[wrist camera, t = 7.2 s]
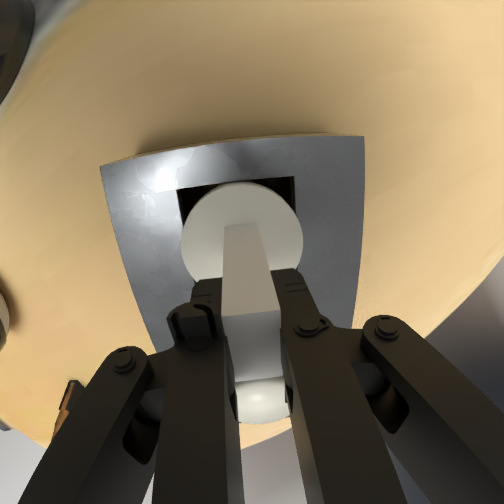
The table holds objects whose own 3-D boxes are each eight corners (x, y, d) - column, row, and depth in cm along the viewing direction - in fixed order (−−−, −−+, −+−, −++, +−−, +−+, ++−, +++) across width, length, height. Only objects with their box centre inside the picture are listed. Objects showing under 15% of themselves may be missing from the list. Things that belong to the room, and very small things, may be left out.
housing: (135, 154, 18) (99, 166, 12) (327, 133, 18) (364, 136, 13) (196, 381, 28) (193, 425, 23) (319, 366, 28) (333, 408, 23)
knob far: (219, 329, 24) (218, 390, 18) (284, 322, 24) (300, 380, 18) (228, 371, 27) (230, 426, 21) (285, 364, 27) (298, 418, 21)
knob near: (190, 172, 18) (170, 196, 12) (276, 162, 18) (301, 180, 12) (203, 250, 21) (193, 304, 15) (281, 241, 21) (303, 291, 15)
